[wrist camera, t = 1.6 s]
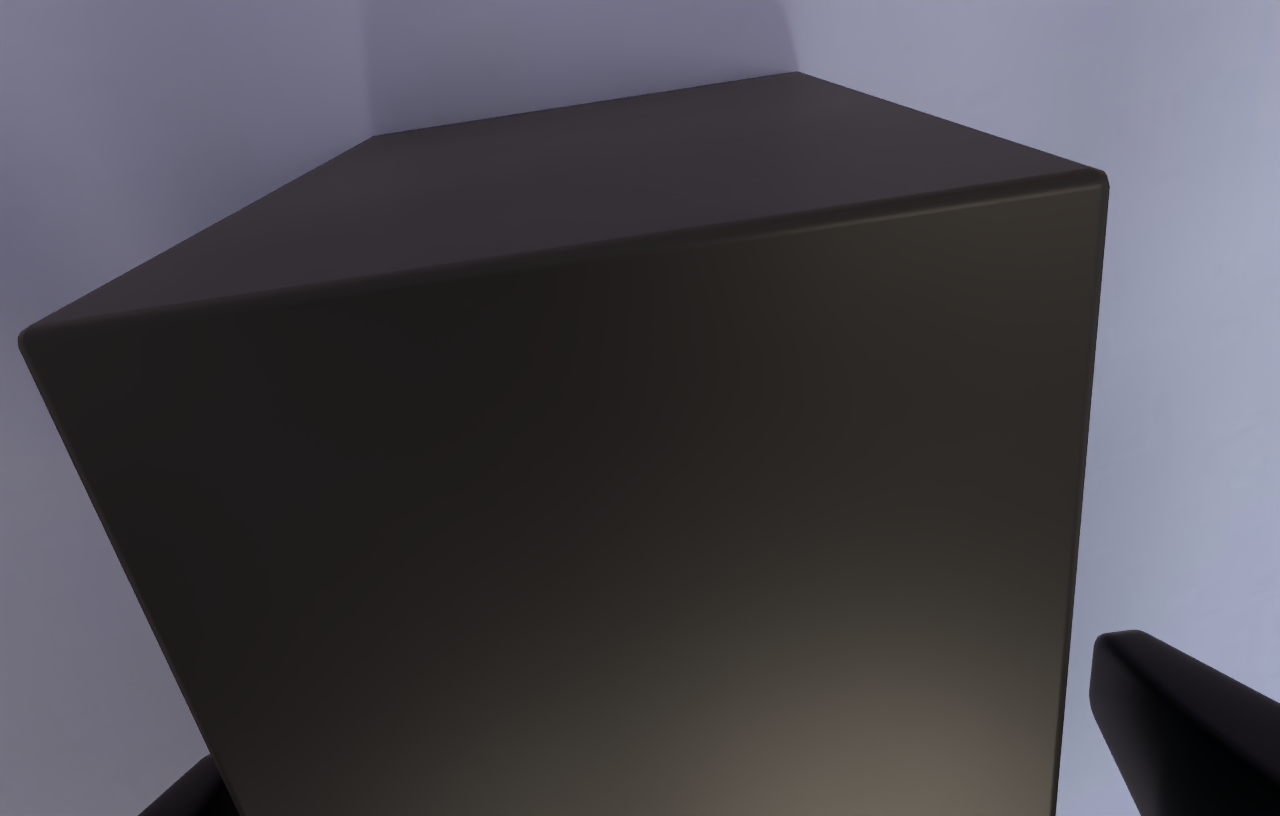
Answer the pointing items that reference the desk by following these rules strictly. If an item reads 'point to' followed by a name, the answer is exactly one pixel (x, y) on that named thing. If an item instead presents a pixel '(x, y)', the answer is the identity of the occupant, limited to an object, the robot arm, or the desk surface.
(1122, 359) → the desk surface
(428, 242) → the clock
